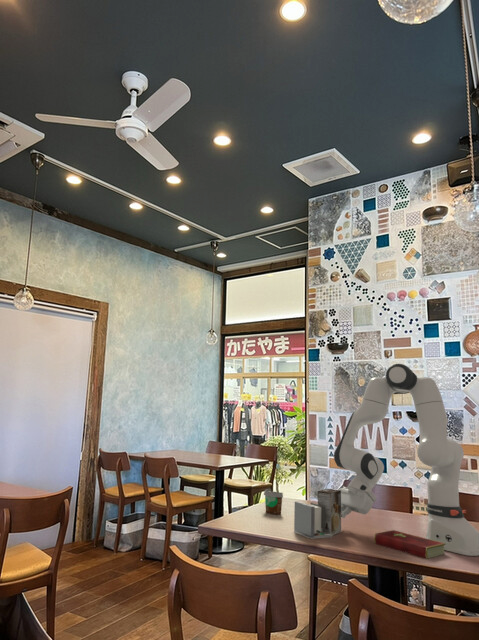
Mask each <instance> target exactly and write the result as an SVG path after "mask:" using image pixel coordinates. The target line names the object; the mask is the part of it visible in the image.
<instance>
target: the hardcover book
mask: <svg viewBox="0 0 479 640" xmlns="http://www.w3.org/2000/svg"><path fill="white" fill-rule="evenodd" d="M374 544H375V545H379V546H382V547H386V548H387V549H392V550H395V551H399V552H402V553H406V554H408V555H412V556H415V557H419V558H422V559H426V560H428V559H432V558H435V557H437V556H438V557H439V556H442V555H445V550H444V545H445V543H442V542H438V541H434V540H430V539H426V537H423V536H422V537H421V536H418V535H414V534H410V533H405V532H402V531H399V530H394V529H392V530H388V531H382V532H375V534H374Z"/></svg>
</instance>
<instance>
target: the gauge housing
mask: <svg viewBox="0 0 479 640" xmlns="http://www.w3.org/2000/svg"><path fill="white" fill-rule="evenodd" d="M293 521H294V522H293V523H294V524H293V525H294V527H293V532H294V534H297V535H300V536H303V537H305V538H307V539H309V538H310V539H309V540H316V539H326V538H327V539H328V538H333V537H334V535H333V534H332V533H329V532H326V533H318V532H316V533H314V528H315V507H314V506H311V504H307V503H304V502H301V501H294V518H293Z"/></svg>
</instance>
